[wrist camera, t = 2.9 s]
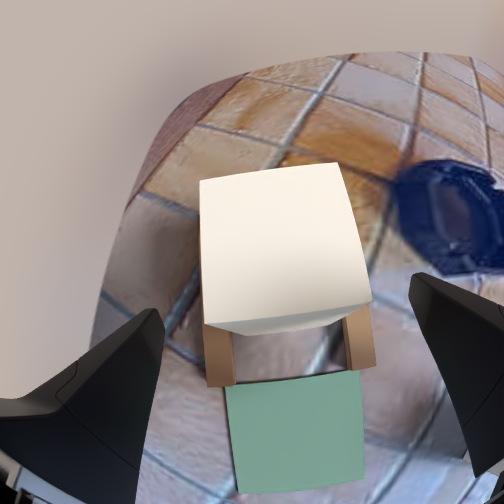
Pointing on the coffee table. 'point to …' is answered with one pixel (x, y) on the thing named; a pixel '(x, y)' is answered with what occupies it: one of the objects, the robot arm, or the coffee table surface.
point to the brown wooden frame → (221, 344)
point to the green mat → (297, 432)
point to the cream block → (280, 250)
